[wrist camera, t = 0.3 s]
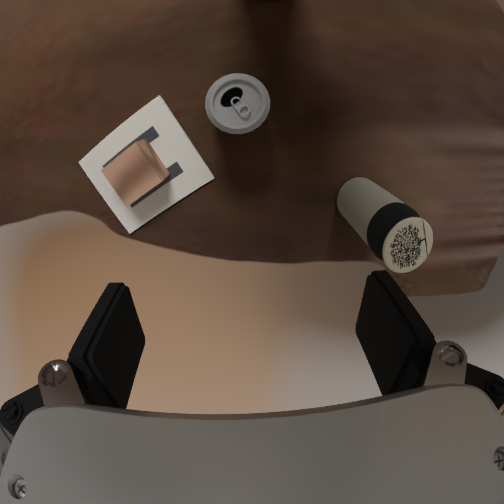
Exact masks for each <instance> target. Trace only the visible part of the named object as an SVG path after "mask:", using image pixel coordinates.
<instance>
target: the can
mask: <svg viewBox="0 0 504 504" xmlns="http://www.w3.org/2000/svg"><path fill="white" fill-rule="evenodd" d="M205 109H206V112H207V115H208V118H209V119H210V120H211V122H212V123H213V125H215V126H216V127H217V128H219V129H220V130H221V131H224V132H227V133H230V134H243V133H247V132H251V131H253V130H254V129H256V128H257V127H259V126H260V125H261V124H262V123H263V122H264V120H265V119H266V117H267V115H268V113H269V110H270V98H269V94H268V91H267V89H266V88H265V87H264V85H263V84H262V83H261V82H260V81H259V80H257V79H256V78H255V77H252V76H250V75H247V74H239V73H234V74H230V75H226V76H223V77H222V78H220V79H219V80H217V81H216V82H215V83H214V84H213V85H212V86H211V87H210V89H209V91H208V93H207V96H206V99H205Z"/></svg>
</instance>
